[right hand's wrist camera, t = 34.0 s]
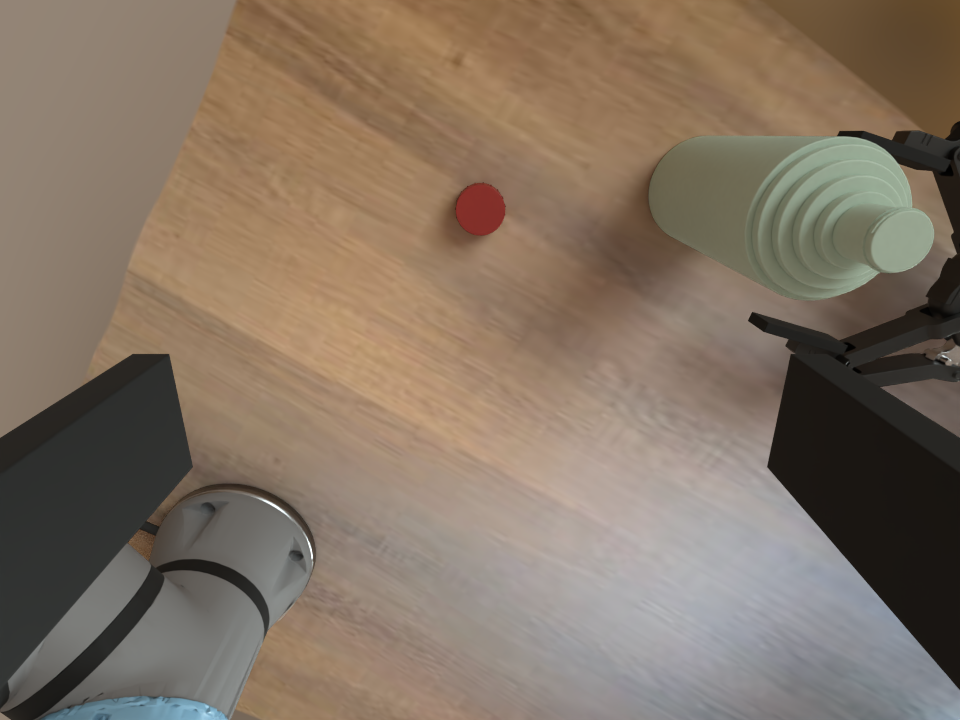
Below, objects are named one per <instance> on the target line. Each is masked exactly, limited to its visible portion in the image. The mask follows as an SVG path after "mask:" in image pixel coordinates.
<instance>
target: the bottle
mask: <svg viewBox="0 0 960 720" xmlns="http://www.w3.org/2000/svg"><path fill="white" fill-rule="evenodd" d="M648 198H649V207H650V211H651V214H652V216H653V218H654V220H655V222H656V223H657V225H658V226H659V227H660V228H661V229H662V230H663V231H664V232H665V233H666V234H668V235H669V236H671V237H673V238H675V239H676V240H678V241H680V242H682V243H684V244H686V245H688V246H690V247H691V248H693V249H695V250H697V251H699V252H701V253H703V254H705V255H706V256H708V257H710V258H712V259H714V260H716V261H718V262H720V263H721V264H723V265H725V266H727V267H729V268H731V269H733V270H735V271H736V272H738V273H740V274H742V275H744V276H746V277H748V278H749V279H751V280H753V281H755V282H757V283H759V284H761V285H763V286H764V287H766V288H768V289H770V290H772V291H774V292H776V293H778V294H780V295H782V296H785V297H787V298H792V299H796V300H806V301H810V300H821V299H827V298H831V297H835V296H838V295H841V294H844V293H847V292H849V291H852V290H854V289H856V288H858V287H860V286H862V285H864V284H865V283H867V282H868V281H869V280H871V279H872V278H874V277H875V276H876V275H877V274H878V273H880V272H882V273H897V272H902V271H906V270H908V269H910V268H912V267H914V266H915V265H917V264H918V263H919V262H921V261H922V260H923V259H924V257H925V256H926V255H927V254H928V252H929V250H930V248H931V246H932V243H933V240H934V228H933V225H932V223H931V221H930V219H929V217H928V216H927V215H926V214H925V213H924V212H922V211H920V210H918V209H915V208H912V196H911V191H910V186H909V183H908V181H907V178H906V176H905V174H904V172H903V171H902V169H901V168H900V166H899V164H898V163H897V162H896V161H895V159H894V158H893V157H892V156H891V155H890V154H889V153H888V152H887V151H886V150H885V149H883V148H882V147H880V146H878V145H877V144H875V143H873V142H870V141H868V140H865V139H861V138H857V137H846V136H699V137H694V138H691V139H688V140H686V141H683V142H681V143H680V144H678V145H676V146H675V147H674V148H672V149H671V150H670V151H669V152H668V153H667V154H666V155H665V156H664V157H663V158H662V159H661V161H660V162H659V164H658V165H657V167H656V169H655V171H654V173H653V175H652V178H651V181H650V186H649V194H648Z"/></svg>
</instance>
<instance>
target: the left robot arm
mask: <svg viewBox="0 0 960 720" xmlns="http://www.w3.org/2000/svg"><path fill="white" fill-rule="evenodd" d="M838 136H846V137H857V138H861V139H865V140H868V141H870V142H873V143H875V144H877V145H878V146H880V147H882V148H883V149H885V150H886V151H887V152H888V153H889V154H890V155H891V156H892V157H893V158H894V159H895V161H896V162H897V163H898V164H901V165H904V166H907V167H910V168H913V169H916V170H927V171H933V174H934V177H935V180H936V183H937V185H938V188H939V191H940V194H941V197H942V199H943V202H944V205H945V208H946V211H947V213H948V216H949V219H950V222H951V225H952V227H953V230H954V233H953V234H952V235H951V238H952V241H953V244H954V246H955V249H956V252H957V255H955V256H954V257H953V258H952V259H951V258H948V259H947V261H946V263H945V264H944V266H943V268H942V271H941V274H940V277H939V279H938V280H937V281H936V282H935V283H934V284H933V286H932V287H931V288H930V290H929V291H928V293H927V295H926V297H928V298H929V299H928V303H927V304H925V305H922V306H919V307H917V308H914V309H912V310H909V311H907V312H906V315H905V316H902V317H900V318H897V319H895V320H892V321H889V322H887V323H884V324H882V325H879V326H876V327H874V328H871V329H868V330H866V331H863V332H861V333H858V334H855V335H853V336H850V337H847V338H845V339H842V340H840V341H838V340H837V339H835V338H833V337H831V336H830V335H828V334H825V333H822V332H818V331H815V330H812V329H808V328H805V327H801V326H798V325H795V324H791V323H788V322H785V321H781V320H778V319H774V318H771V317H768V316H764V315H761V314H758V313H754V312H752V314H751V316H750V318H749V320H748V321H749V322H750V323H752V324H753V325H755V326H756V327H758V328H759V329H761V330H762V331H763V332H766V333H770V334H773V335H776V336H780V337H783V338H787V339H789V340H788V342H787V344H786V347H787V348H788V349H789V350H791V351H792V352H794V353H795V354H828V355H829V356H831V357H833V358H834V359H836V360H837V361H839V362H841V363H842V364H844V365H845V366H847V367H848V368H850V369H852V370H853V371H855V372H856V373H858V374H859V375H861V376H863V377H864V378H866V379H867V380H869V381H871V382H872V383H874V384H875V385H877V386H878V387H883V386H889V385H895V384H902V383H908V382H914V381H921V380H927V379H939V380H945V381H951V382H957V381H960V367H959V366H958V365H959V363H960V121H959V122H957V123H955V124H954V125H953V127H952V129H951V133H950V135H949V136H948V137H947V138H946V139H942V138H939V137H936V136H933V135H930V134H928V133H925V132H922V131H897V132H896V134H895V135H894V137H893V139H892V140H889V139H886V138H883V137H880V136H877V135H874V134H871V133H868V132H865V131H839V133H838ZM942 338H944V339H945V340H946V341H947V342H946V343H945V345H944V346H942V347H940V348H934V349H926V350H925V351H924V352H923V354H919V353H911V354H903V355H897V356H891V357H885V358H880V357H883V356H886V355H888V354H891V353H894V352H897V351H899V350H902V349H905V348H907V347H910V346H913V345H915V344H918V343H921V342H923V341H926V340H929V339H942Z"/></svg>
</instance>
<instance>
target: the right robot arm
mask: <svg viewBox="0 0 960 720" xmlns="http://www.w3.org/2000/svg"><path fill="white" fill-rule="evenodd" d="M192 467H193V466H192V461H191V456H190V451H189V447H188V442H187V437H186V432H185V427H184V423H183V418H182V413H181V408H180V404H179V399H178V394H177V389H176V385H175V380H174V375H173V370H172V366H171V361H170V356H169V354H132V355H131V356H129V357H127V358H126V359H124V360H123V361H121V362H119V363H118V364H116V365H115V366H113V367H112V368H110V369H108V370H107V371H105V372H104V373H102V374H101V375H99V376H97V377H96V378H94V379H93V380H91V381H89V382H88V383H86V384H85V385H83V386H82V387H80V388H78V389H77V390H75V391H74V392H72V393H71V394H69V395H67V396H66V397H64V398H63V399H61V400H59V401H58V402H56V403H55V404H53V405H52V406H50V407H48V408H47V409H45V410H44V411H42V412H40V413H39V414H37V415H36V416H34V417H33V418H31V419H29V420H28V421H26V422H25V423H23V424H22V425H20V426H18V427H17V428H15V429H14V430H12V431H10V432H9V433H7V434H6V435H4V436H3V437H1V438H0V712H1V713H2V714H4V715H5V716H7V717H8V718H9V719H11V720H230V719H231V717H232V715H233V712H234V710H235V708H236V705H237V703H238V700H239V698H240V696H241V693H242V691H243V688H244V686H245V684H246V681H247V679H248V676H249V674H250V672H251V669H252V667H253V664H254V662H255V660H256V657H257V655H258V652H259V650H260V648H261V645H262V643H263V640H264V638H265V636H266V633H267V631H268V630H269V629H270V628H271V627H272V626H273V624H274V623H275V622H276V621H277V620H278V619H279V618H280V617H281V616H282V615H283V614H284V613H285V612H286V611H288V610H289V609H290V608H291V607H292V606H291V605H292V604H293V603H294V602H295V601H296V600H297V599H298V598H299V596H300V595H301V594H302V592H303V590H304V589H305V587H306V586H307V584H308V582H309V579H310V576H311V574H312V571H313V568H314V565H315V558H316V549H315V543H314V539H313V536H312V534H311V531H310V529H309V528H308V526H307V524H306V523H305V521H304V520H303V518H302V517H301V516H300V515H299V514H298V513H297V512H296V511H295V510H294V509H293V508H292V507H291V506H290V505H289V504H287V503H286V502H284V501H283V500H282V499H280V498H278V497H277V496H275V495H273V494H271V493H269V492H266V491H264V490H261V489H258V488H255V487H251V486H247V485H240V484H217V485H211V486H207V487H203V488H200V489H198V490H195V491H193V492H191V493H189V494H188V495H186V496H185V497H183V498H182V499H181V500H180V501H179V502H178V503H177V504H176V505H175V506H174V507H173V508H172V509H171V511H170V512H169V513H168V514H167V516H166V517H165V518H164V520H163V522H162V524H161V526H160V527H159V526H156V525H154V524H151V523H149V522H147V521H146V520H147V519H148V518H149V517H150V516H151V515H152V514H153V512H154V511H155V510H156V509H157V508H158V507H159V505H160V504H161V503H162V502H163V501H164V500H165V498H166V497H167V496H168V495H169V494H170V493H171V492H172V490H173V489H174V488H175V487H176V486H177V485H178V483H179V482H180V481H181V480H182V479H183V478H184V476H185V475H186V474H187V473H188V472H189V471H190V470H191V468H192ZM767 467H768V468H769V470H770V471H771V472H772V473H773V474H774V475H775V476H776V478H777V479H778V480H779V481H780V482H781V483H782V485H783V486H784V487H785V488H786V489H787V490H788V492H789V493H790V494H791V495H792V496H793V497H794V498H795V500H796V501H797V502H798V503H799V504H800V505H801V507H802V508H803V509H804V510H805V511H806V512H807V514H808V515H809V516H810V517H811V518H812V519H813V520H814V522H815V523H816V524H817V525H818V526H819V527H820V529H821V530H822V531H823V532H824V533H825V534H826V536H827V537H828V538H829V539H830V540H831V541H832V542H833V544H834V545H835V546H836V547H837V548H838V549H839V551H840V552H841V553H842V554H843V555H844V556H845V558H846V559H847V560H848V561H849V562H850V563H851V564H852V566H853V567H854V568H855V569H856V570H857V571H858V573H859V574H860V575H861V576H862V577H863V578H864V580H865V581H866V582H867V583H868V584H869V585H870V586H871V588H872V589H873V590H874V591H875V592H876V593H877V595H878V596H879V597H880V598H881V599H882V600H883V602H884V603H885V604H886V605H887V606H888V607H889V608H890V610H891V611H892V612H893V613H894V614H895V615H896V617H897V618H898V619H899V620H900V621H901V622H902V624H903V625H904V626H905V627H906V628H907V629H908V630H909V632H910V633H911V634H912V635H913V636H914V637H915V639H916V640H917V641H918V642H919V643H920V644H921V646H922V647H923V648H924V649H925V650H926V651H927V652H928V654H929V655H930V656H931V657H932V658H933V659H934V661H935V662H936V663H937V664H938V665H939V666H940V668H941V669H942V670H943V671H944V672H945V673H946V674H947V676H948V677H949V678H950V679H951V680H952V681H953V683H954V684H955V685H956V686H957V687H958V688H959V690H960V438H959V437H957V436H956V435H954V434H953V433H951V432H950V431H948V430H946V429H945V428H943V427H942V426H940V425H938V424H937V423H935V422H934V421H932V420H931V419H929V418H927V417H926V416H924V415H923V414H921V413H920V412H918V411H916V410H915V409H913V408H912V407H910V406H908V405H907V404H905V403H904V402H902V401H901V400H899V399H897V398H896V397H894V396H893V395H891V394H889V393H888V392H886V391H885V390H883V389H882V388H880V387H878V386H877V385H875V384H874V383H872V382H871V381H869V380H867V379H866V378H864V377H863V376H861V375H859V374H858V373H856V372H855V371H853V370H852V369H850V368H848V367H847V366H845V365H844V364H842V363H841V362H839V361H837V360H836V359H834V358H833V357H831V356H829V355H828V354H791V356H790V361H789V366H788V370H787V375H786V380H785V385H784V389H783V394H782V399H781V404H780V408H779V413H778V418H777V423H776V427H775V432H774V437H773V442H772V447H771V451H770V456H769V461H768V466H767ZM139 529H141V530H143V531H146V532H148V533H150V534H153V535H155V536H156V537H155V541H154V544H153V548H152V552H151V555H150V559H149V561H147V560H146V559H145V558H144V557H143V556H142V555H141V554H140V553H138V552H137V551H136V550H135V549H134V548H133V547H132V546H130V545H129V544H128V543H127V542H128V541H129V540H130V539H131V538H132V537H133V536H134V534H135V533H136V532H137V531H138V530H139ZM285 614H286V613H285ZM285 614H284V615H285ZM284 615H283V616H284ZM283 616H282V617H283Z"/></svg>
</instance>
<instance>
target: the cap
mask: <svg viewBox="0 0 960 720" xmlns="http://www.w3.org/2000/svg"><path fill="white" fill-rule="evenodd" d="M455 210H456V216H457V219H458V221H459V223H460V225H461V226H462V227H463V228H464V229H465V230H466V231H467V232H469V233H471V234H474V235H487V234H490V233H492V232H494V231H495V230H496V229H497V228H498V227H499V226H500V225H501V223H502V221H503V219H504V215H505V204H504V201H503V197H502V196H501V194H500V193H499V191H498V189H495V188H494V187H493V186H492V185H489V184H485V183H484V182H483V183H475V184H472V185H470V186H467V188H465V189H464V190H463V192H461V194H460V196H459V198H458V199H457V205H456V208H455Z"/></svg>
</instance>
